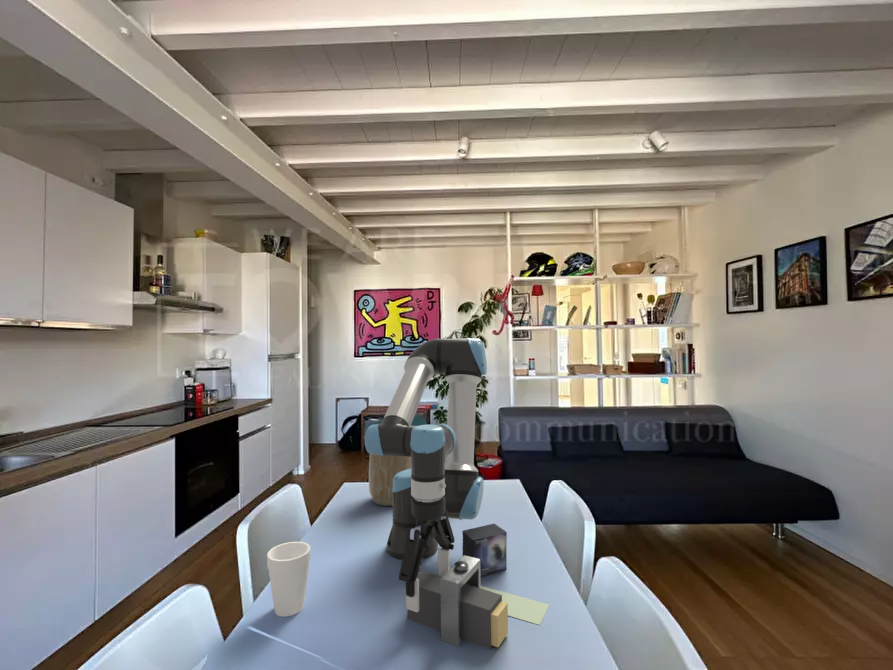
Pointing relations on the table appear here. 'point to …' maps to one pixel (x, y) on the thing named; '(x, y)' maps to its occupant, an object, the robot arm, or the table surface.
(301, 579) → the foam cup
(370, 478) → the vase
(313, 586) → the table surface
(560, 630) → the table surface
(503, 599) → the mat
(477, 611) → the plug
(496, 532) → the small box
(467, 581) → the frame
